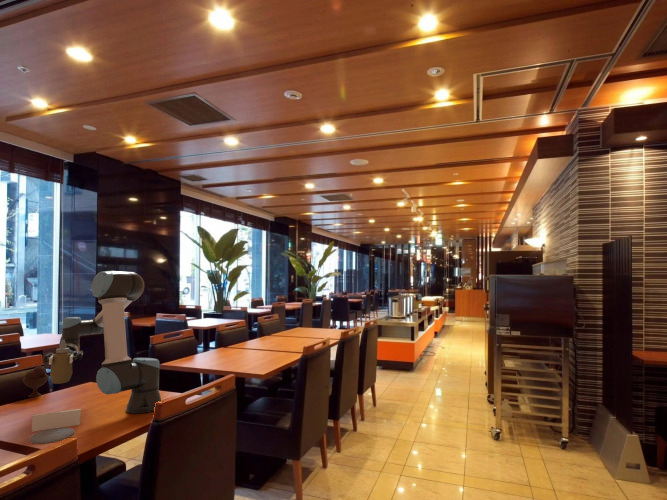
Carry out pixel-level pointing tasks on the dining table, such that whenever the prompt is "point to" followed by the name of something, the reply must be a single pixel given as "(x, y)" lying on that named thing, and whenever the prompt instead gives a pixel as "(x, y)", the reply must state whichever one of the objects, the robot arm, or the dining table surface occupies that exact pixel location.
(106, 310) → the robot arm
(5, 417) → the dining table surface
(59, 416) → the beige rectangular block
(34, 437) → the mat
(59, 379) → the squeeze bottle
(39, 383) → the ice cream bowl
